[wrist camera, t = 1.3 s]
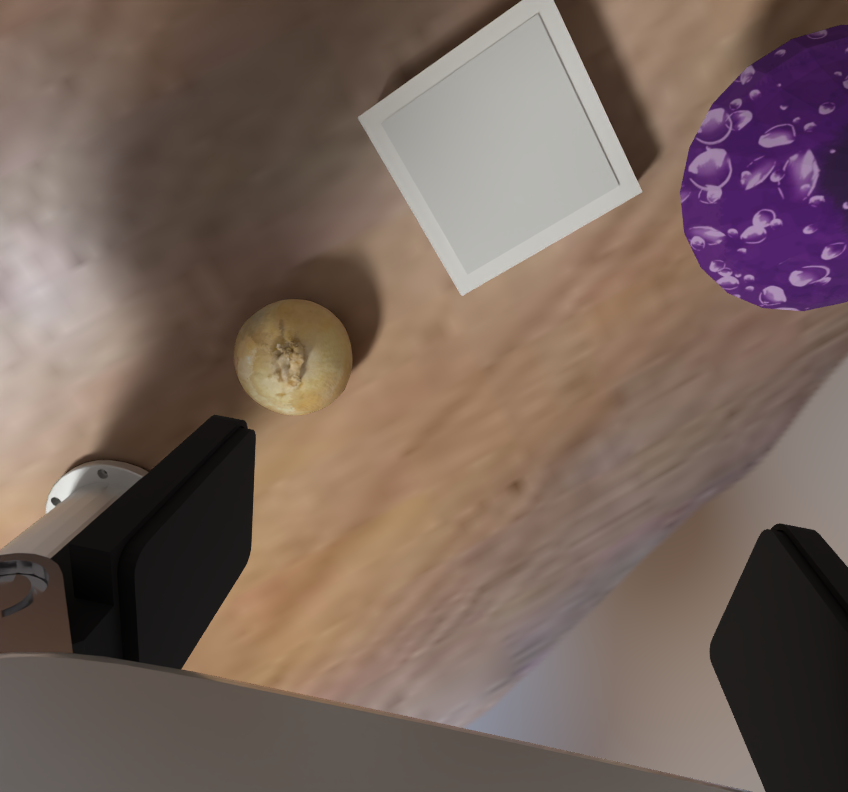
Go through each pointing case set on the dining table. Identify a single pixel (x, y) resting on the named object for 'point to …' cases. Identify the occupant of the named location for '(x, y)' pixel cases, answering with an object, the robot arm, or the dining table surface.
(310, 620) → the dining table surface
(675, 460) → the dining table surface
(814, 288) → the decorative mushroom
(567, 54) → the blank white picture frame
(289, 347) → the onion
